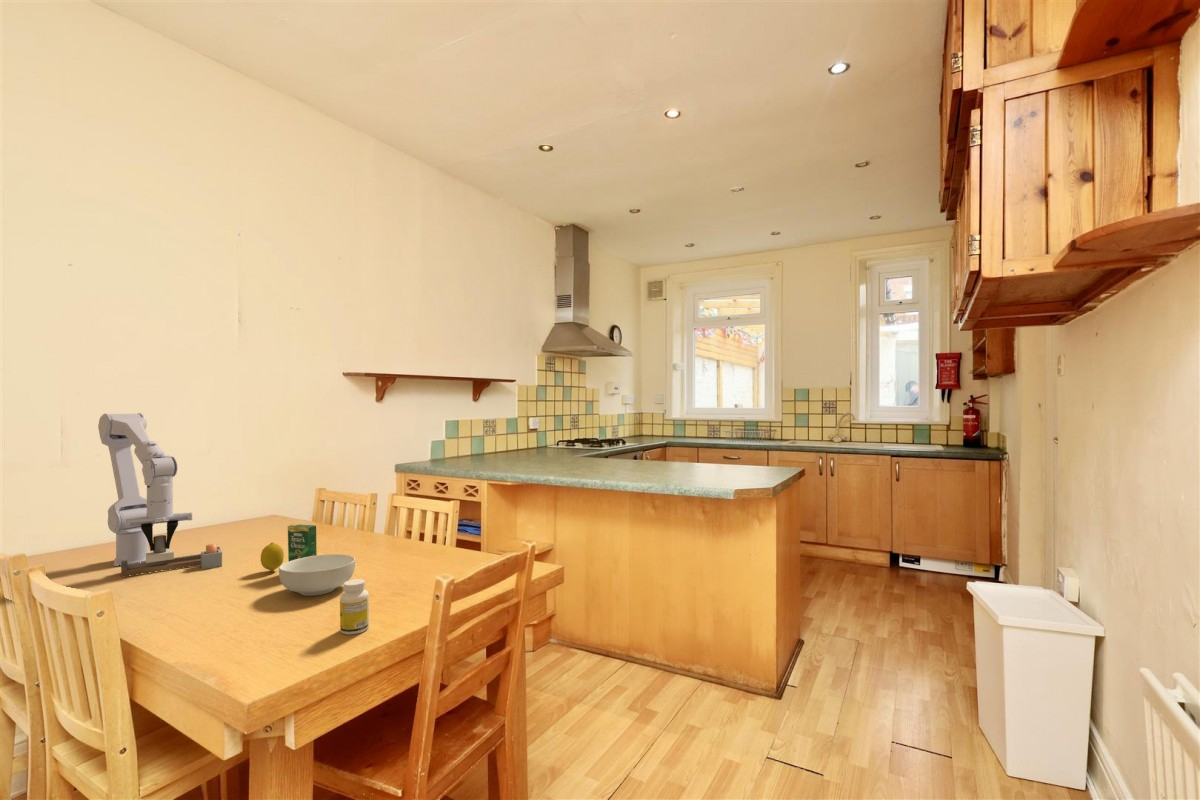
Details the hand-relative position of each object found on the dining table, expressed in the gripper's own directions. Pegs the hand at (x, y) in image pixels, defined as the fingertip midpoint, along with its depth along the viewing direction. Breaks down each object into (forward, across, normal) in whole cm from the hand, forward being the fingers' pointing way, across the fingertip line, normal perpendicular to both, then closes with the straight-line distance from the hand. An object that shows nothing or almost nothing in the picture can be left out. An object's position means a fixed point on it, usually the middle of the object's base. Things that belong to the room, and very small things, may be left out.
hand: (159, 549), depth 154 cm
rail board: (+6, +3, 0) cm, 6 cm away
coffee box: (+6, +30, -30) cm, 43 cm away
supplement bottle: (+6, +30, -79) cm, 85 cm away
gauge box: (+6, +11, -6) cm, 14 cm away
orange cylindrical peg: (+3, +11, -6) cm, 13 cm away
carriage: (+3, 0, 0) cm, 3 cm away
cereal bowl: (+6, +30, -48) cm, 57 cm away
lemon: (+6, +24, -23) cm, 34 cm away
